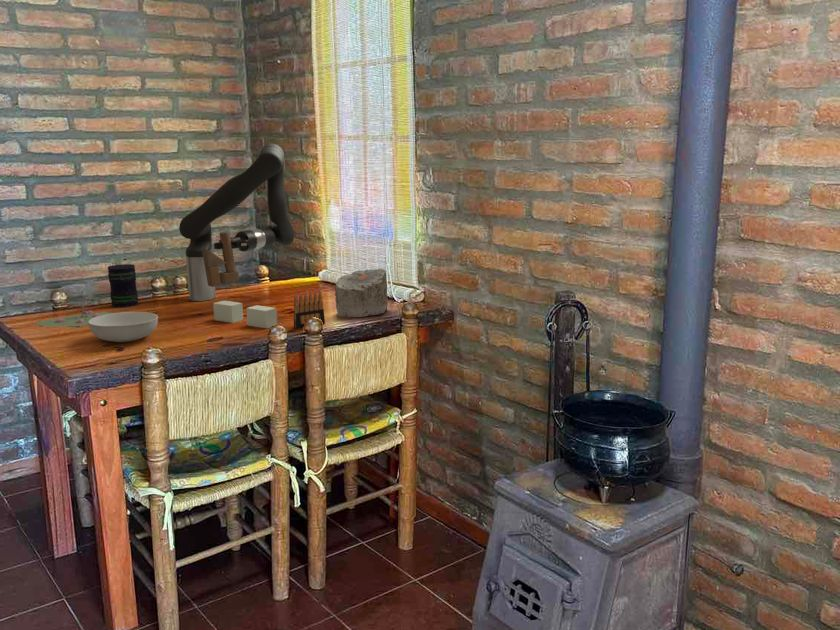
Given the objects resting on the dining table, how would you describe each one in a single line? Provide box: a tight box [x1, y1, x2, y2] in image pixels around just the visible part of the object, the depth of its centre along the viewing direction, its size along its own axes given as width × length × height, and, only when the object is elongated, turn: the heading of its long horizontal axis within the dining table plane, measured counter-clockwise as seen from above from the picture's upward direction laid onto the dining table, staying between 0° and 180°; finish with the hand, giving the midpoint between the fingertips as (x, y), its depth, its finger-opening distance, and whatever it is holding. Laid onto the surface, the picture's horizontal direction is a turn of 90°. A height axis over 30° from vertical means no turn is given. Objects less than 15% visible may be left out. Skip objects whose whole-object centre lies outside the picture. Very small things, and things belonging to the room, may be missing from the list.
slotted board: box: [212, 300, 278, 329], centre depth 273 cm, size 5×25×6 cm, turn 57°
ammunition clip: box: [293, 288, 326, 329], centre depth 267 cm, size 11×2×12 cm, turn 123°
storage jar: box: [107, 258, 139, 309], centre depth 303 cm, size 10×10×18 cm
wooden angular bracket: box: [201, 231, 240, 287], centre depth 284 cm, size 4×11×18 cm, turn 129°
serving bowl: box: [88, 311, 159, 343], centre depth 254 cm, size 21×21×7 cm
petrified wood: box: [334, 268, 389, 318], centre depth 284 cm, size 19×17×15 cm
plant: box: [33, 295, 112, 328], centre depth 280 cm, size 25×21×9 cm
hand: (215, 246), depth 282 cm, fingers closed
